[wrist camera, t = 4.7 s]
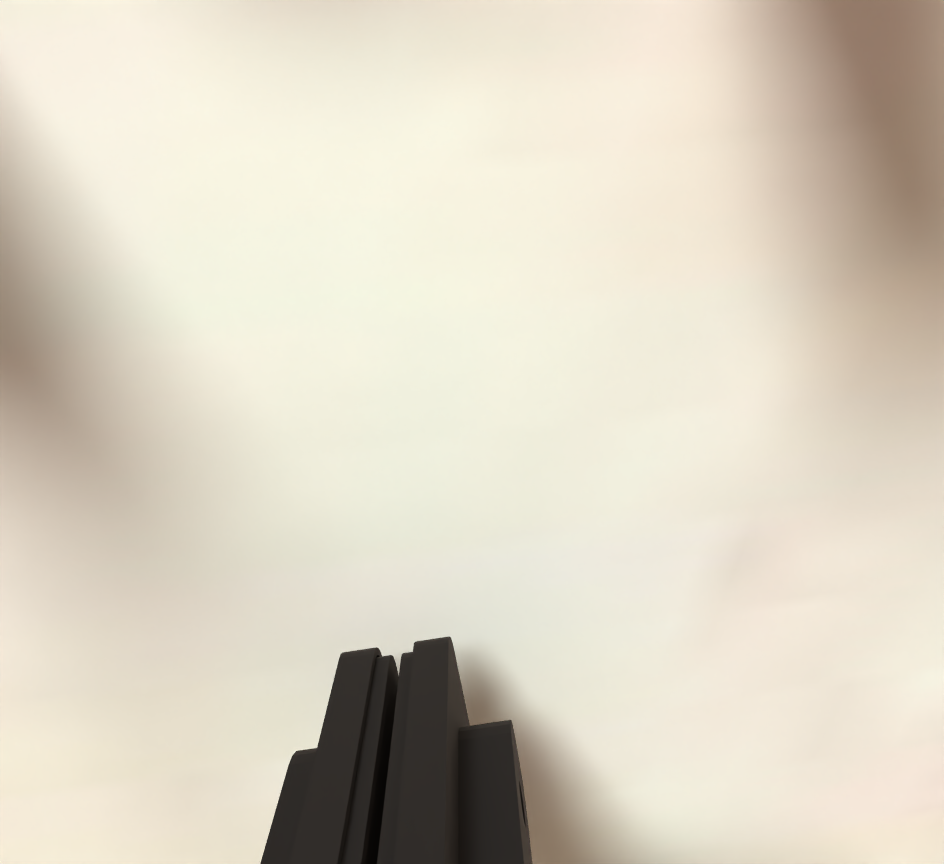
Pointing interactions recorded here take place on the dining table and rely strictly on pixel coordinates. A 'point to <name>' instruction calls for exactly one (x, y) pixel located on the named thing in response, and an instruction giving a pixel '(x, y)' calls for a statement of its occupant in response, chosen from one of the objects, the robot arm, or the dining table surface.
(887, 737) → the dining table surface
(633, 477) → the dining table surface
